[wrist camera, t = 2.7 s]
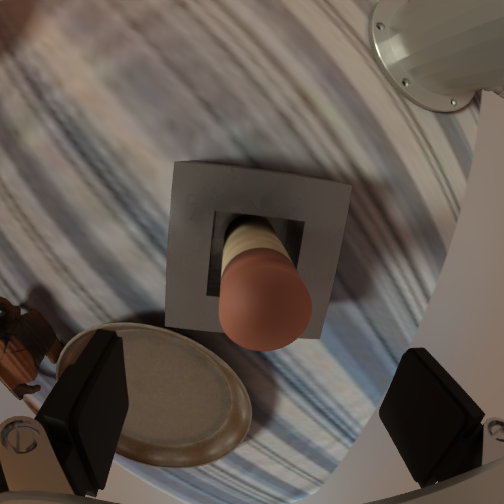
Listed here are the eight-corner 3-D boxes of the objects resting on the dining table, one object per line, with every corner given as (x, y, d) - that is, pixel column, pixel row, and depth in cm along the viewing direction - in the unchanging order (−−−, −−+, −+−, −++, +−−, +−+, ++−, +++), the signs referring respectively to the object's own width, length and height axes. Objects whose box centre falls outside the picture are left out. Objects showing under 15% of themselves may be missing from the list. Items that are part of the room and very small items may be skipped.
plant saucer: (43, 307, 27) (28, 322, 24) (245, 303, 28) (247, 321, 25) (99, 442, 33) (92, 459, 30) (253, 447, 34) (255, 468, 31)
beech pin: (279, 217, 24) (320, 273, 13) (271, 266, 26) (302, 353, 14) (227, 211, 24) (223, 263, 13) (221, 261, 25) (215, 347, 14)
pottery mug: (82, 369, 29) (38, 420, 23) (39, 341, 33) (1, 382, 27) (31, 282, 23) (-31, 338, 17) (-4, 264, 27) (-53, 307, 20)
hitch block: (325, 178, 25) (352, 185, 19) (302, 303, 28) (319, 339, 22) (188, 160, 24) (174, 161, 18) (177, 291, 27) (165, 326, 21)
